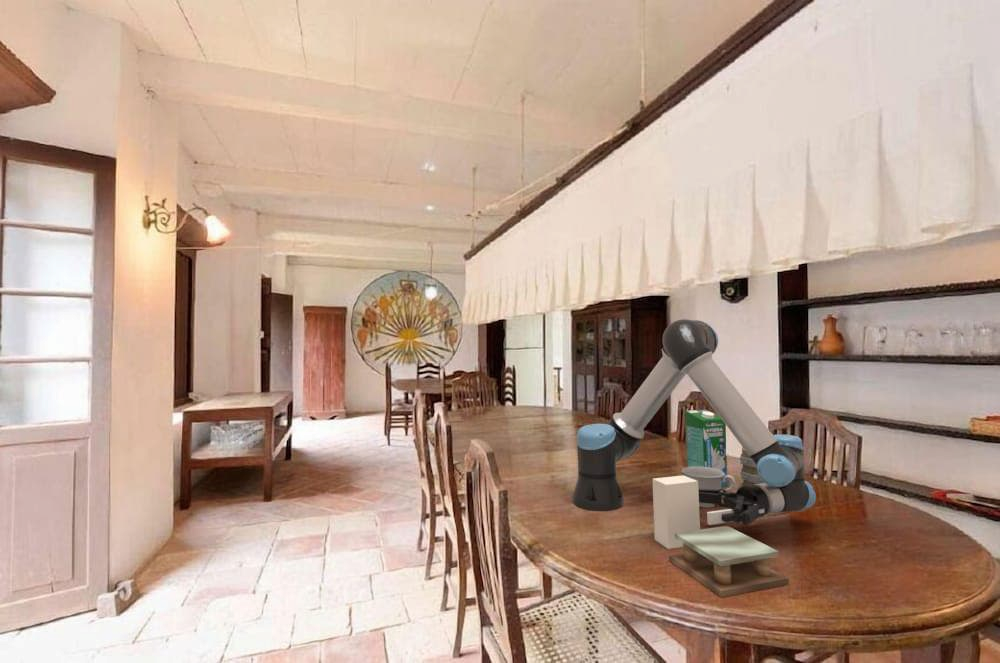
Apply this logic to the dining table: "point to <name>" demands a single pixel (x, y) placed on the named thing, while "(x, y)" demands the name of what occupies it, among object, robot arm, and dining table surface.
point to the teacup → (708, 479)
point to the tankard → (748, 470)
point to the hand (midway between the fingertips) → (688, 508)
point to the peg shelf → (737, 576)
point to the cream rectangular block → (675, 508)
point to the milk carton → (705, 440)
